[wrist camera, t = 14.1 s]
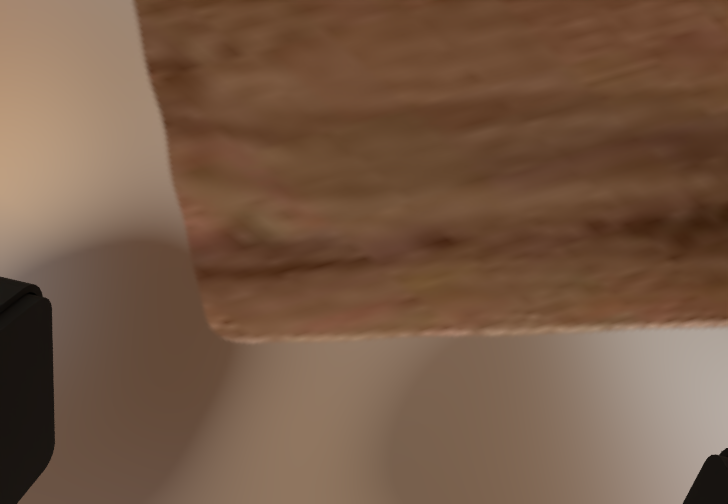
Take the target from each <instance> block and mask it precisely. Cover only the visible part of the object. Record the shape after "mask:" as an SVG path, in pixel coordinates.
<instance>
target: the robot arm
mask: <svg viewBox="0 0 728 504" xmlns="http://www.w3.org/2000/svg"><path fill="white" fill-rule="evenodd" d="M52 342H53V341H52V307H51V303H50V301H49V299H47V298H44V297H43V296H42V292H41V290H40V288H39V287H38V286H36V285H34V284H29V283H25V282H21V281H17V280H12V279H8V278H4V277H0V504H17V503H18V501H19V500H20V499H21V498H22V497H23V495H24V494H25V493H26V492H27V490H28V489H29V488H30V487H31V486H32V484H33V483H34V482H35V481H36V479H37V478H38V477H39V476H40V475H41V473H42V472H43V471H44V470H45V468H46V467H47V465H48V463H49V461H50V459H51V456H52V454H53V450H54V444H55V431H54V387H53V343H52ZM683 504H728V448H726V449H725V450H723V451H722V452H721V453H720V455H711V456H710V457H708V458H707V460H706V461H705V463H704V464H703V466H702V468H701V470H700V472H699V474H698V476H697V478H696V479H695V481H694V483H693V485H692V487H691V489H690V491H689V493H688V495H687V496H686V498H685V500H684V502H683Z"/></svg>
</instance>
